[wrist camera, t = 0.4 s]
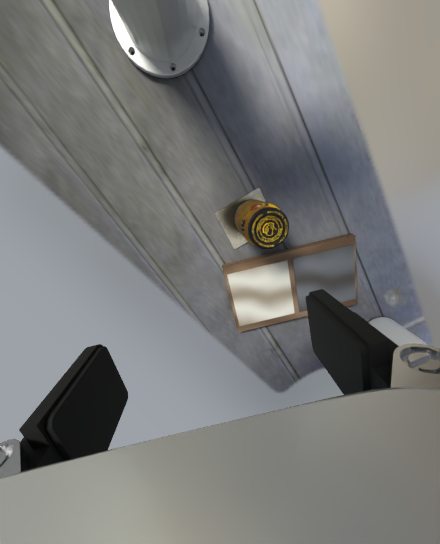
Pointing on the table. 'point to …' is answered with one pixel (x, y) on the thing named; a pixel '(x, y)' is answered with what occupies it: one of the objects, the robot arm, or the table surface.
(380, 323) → the milk bottle
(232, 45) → the table surface
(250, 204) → the condiment
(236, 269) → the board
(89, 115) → the table surface
